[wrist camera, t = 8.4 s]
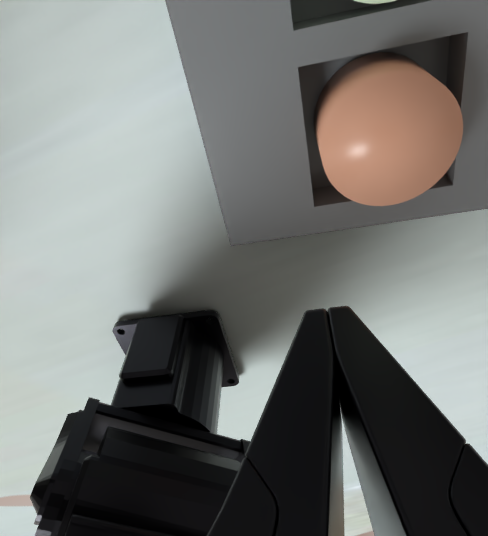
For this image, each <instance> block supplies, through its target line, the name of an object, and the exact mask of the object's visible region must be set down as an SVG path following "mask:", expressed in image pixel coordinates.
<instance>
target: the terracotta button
mask: <svg viewBox="0 0 488 536" xmlns="http://www.w3.org/2000/svg"><path fill="white" fill-rule="evenodd" d="M314 131H315V136H316V140H317V144H318V148H319V152H320V156H321V160H322V164H323V167H324V170H325V173H326V175H327V177H328V179H329V181H330V182H331V184H332V185H333V186H334V187H335V188H336V190H337V191H338V192H340V193H341V194H342V195H343V196H345V197H347V198H348V199H350V200H352V201H355V202H357V203H360V204H364V205H370V206H388V205H394V204H399V203H402V202H405V201H408V200H410V199H413V198H415V197H417V196H419V195H420V194H422V193H424V192H425V191H427V190H428V189H429V188H431V187H432V186H433V185H434V184H436V183H437V182H438V181H439V180H440V179H441V178H442V177H443V176H444V174H445V173H446V172H447V170H448V169H449V168H450V166H451V165H452V163H453V161H454V160H455V158H456V155H457V153H458V151H459V148H460V145H461V141H462V135H463V118H462V113H461V109H460V106H459V104H458V102H457V100H456V98H455V97H454V95H453V94H452V93H451V91H450V90H449V89H448V88H447V87H446V86H445V85H443V84H442V83H441V82H440V81H438V80H437V79H436V78H435V77H433V76H432V75H431V74H430V73H428V72H427V71H426V70H425V69H423V68H422V67H421V66H419V65H418V64H417V63H416V62H414V61H413V60H411V59H409V58H407V57H405V56H403V55H400V54H396V53H389V52H379V53H371V54H368V55H364V56H361V57H359V58H357V59H354V60H353V61H351V62H349V63H347V64H346V65H345V66H343V67H342V68H340V69H339V70H338V71H337V72H336V73H335V74H334V75H333V76H332V77H331V78H330V80H329V81H328V82H327V83H326V85H325V87H324V88H323V90H322V92H321V94H320V96H319V98H318V101H317V104H316V107H315V112H314Z"/></svg>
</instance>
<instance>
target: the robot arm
mask: <svg viewBox="0 0 488 536" xmlns="http://www.w3.org/2000/svg"><path fill="white" fill-rule="evenodd" d="M208 318H212V319H213V320H210V319H208ZM121 329H123V330H121ZM113 333H114V335H115V337H116V339H117V341H118V342H119V344H120V346H121V348H122V350H123V351H124V353H125V355H126V357H125V360H124V363H123V365H122V368H121V371H120V374H119V377H120V379H119V382H118V385H117V388H116V391H115V394H114V397H113V400H112V403H111V405H108V404H105V403H101V402H99V401H100V400H97V399H93V398H90V397H89V399H88V401H87V404H86V406H85V409H84V411H82V410H79V412H75V413H71V414H68V416H67V418H66V420H65V423H64V425H63V427H62V430H61V432H60V434H59V437H58V439H57V441H56V444H55V446H54V448H53V450H52V452H51V454H50V456H49V458H48V460H47V462H46V464H45V466H44V468H43V470H42V472H41V474H40V475H39V477H38V479H37V481H36V483H35V486H34V488H33V491H32V493H31V496H30V499H31V501H32V503H33V506H34V508H35V510H36V513H37V516H36V519H35V523H34V524H35V525H39V526H38V528H37V531H36V534H35V536H344V494H343V448H342V419H343V423H344V427H345V431H346V435H347V438H348V442H349V445H350V449H351V453H352V456H353V460H354V463H355V467H356V471H357V474H358V478H359V481H360V485H361V488H362V492H363V496H364V499H365V503H366V506H367V510H368V514H369V517H370V521H371V524H372V528H373V532H374V535H375V536H488V464H487V463H486V462H485V461H484V460H483V459H482V458H481V456H480V455H479V454H478V453H477V452H476V451H475V450H474V448H473V447H472V446H471V445H470V444H465V443H466V440H465V438H464V437H463V436H462V435H461V434H460V433H459V432H458V430H457V429H456V428H455V427H454V426H453V425H452V424H451V422H450V421H449V420H448V419H447V418H446V417H445V416H444V414H443V413H442V412H441V411H440V410H439V409H438V408H437V406H436V405H435V404H434V403H433V402H432V401H431V400H430V398H429V397H428V396H427V395H426V394H425V393H424V392H423V390H422V389H421V388H420V387H419V386H418V385H417V384H416V382H415V381H414V380H413V379H412V378H411V377H410V376H409V374H408V373H407V372H406V371H405V370H404V369H403V368H402V366H401V365H400V364H399V363H398V362H397V361H396V360H395V358H394V357H393V356H392V355H391V354H390V353H389V352H388V350H387V349H386V348H385V347H384V346H383V345H382V344H381V342H380V341H379V340H378V339H377V338H376V337H375V336H374V334H373V333H372V332H371V331H370V330H369V329H368V328H367V326H366V325H365V324H364V323H363V322H362V321H361V320H360V318H359V317H358V316H357V315H356V314H355V313H354V312H353V310H352V309H351V308H350V307H348V306H341V307H332V308H329V309H328V311H326V309H315V310H308V311H306V312H305V313H304V315H303V318H302V320H301V322H300V325H299V327H298V330H297V332H296V334H295V337H294V339H293V341H292V344H291V346H290V349H289V351H288V353H287V356H286V358H285V361H284V363H283V365H282V368H281V370H280V373H279V375H278V377H277V380H276V382H275V384H274V387H273V389H272V392H271V394H270V396H269V399H268V401H267V404H266V406H265V408H264V411H263V413H262V415H261V418H260V420H259V423H258V425H257V427H256V430H255V432H254V435H253V437H252V439H251V442H250V441H247V440H243V439H241V440H236V439H233V438H229V437H225V436H222V435H218V434H217V426H218V417H219V407H220V397H221V387H228V386H235V385H237V384H238V383H239V374H238V371H237V368H236V365H235V362H234V359H233V356H232V353H231V350H230V347H229V344H228V340H227V337H226V334H225V331H224V328H223V325H222V322H221V319H220V316H219V314H218V313H217V312H216V311H212V310H208V311H200V312H192V313H183V314H175V315H167V316H159V317H151V318H143V319H135V320H126V321H119V322H117V323H116V324H115V326H114V328H113ZM340 408H341V410H340ZM341 413H342V419H341Z"/></svg>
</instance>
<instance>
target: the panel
mask: <svg viewBox="0 0 488 536" xmlns="http://www.w3.org/2000/svg"><path fill="white" fill-rule="evenodd" d="M165 1H166V5H167V9H168V12H169V16H170V20H171V24H172V27H173V31H174V35H175V39H176V42H177V46H178V50H179V53H180V57H181V61H182V65H183V68H184V72H185V76H186V80H187V83H188V87H189V91H190V95H191V98H192V102H193V106H194V110H195V113H196V117H197V121H198V125H199V128H200V132H201V136H202V139H203V143H204V147H205V151H206V154H207V158H208V162H209V166H210V169H211V173H212V177H213V181H214V184H215V188H216V192H217V196H218V199H219V203H220V207H221V211H222V214H223V218H224V222H225V226H226V229H227V233H228V237H229V240H230V244H231V246H234V245H241V244H247V243H254V242H261V241H268V240H275V239H282V238H289V237H295V236H302V235H309V234H316V233H323V232H330V231H337V230H344V229H350V228H357V227H364V226H371V225H378V224H385V223H392V222H398V221H405V220H412V219H419V218H426V217H433V216H440V215H447V214H453V213H460V212H467V211H474V210H481V209H488V0H396V1H392V2H387V3H380V4H369V3H362V2H357V1H354V0H165ZM379 52H389V53H396V54H400V55H403V56H405V57H407V58H409V59H411V60H413V61H414V62H416V63H417V64H418V65H419V66H421V67H422V68H423V69H425V70H426V71H427V72H428V73H430V74H431V75H432V76H433V77H435V78H436V79H437V80H438V81H440V82H441V83H442V84H443V85H445V86H446V87H447V88H448V89H449V90H450V91H451V93H452V94H453V95H454V97H455V98H456V100H457V102H458V104H459V106H460V109H461V113H462V118H463V135H462V141H461V145H460V148H459V151H458V153H457V155H456V158H455V160H454V161H453V163H452V165H451V166H450V168H449V169H448V170H447V172H446V173H445V174H444V176H443V177H442V178H441V179H440V180H439V181H438V182H437V183H436V184H434V185H433V186H432V187H431V188H429V189H428V190H427V191H425V192H424V193H422V194H420V195H419V196H417V197H415V198H413V199H410V200H408V201H405V202H402V203H399V204H394V205H388V206H370V205H364V204H360V203H357V202H355V201H352V200H350V199H348V198H347V197H345V196H343V195H342V194H341V193H340V192H338V191H337V190H336V188H335V187H334V186H333V185H332V184H331V182H330V181H329V179H328V177H327V175H326V173H325V170H324V167H323V164H322V160H321V156H320V152H319V148H318V144H317V140H316V136H315V131H314V112H315V107H316V104H317V101H318V98H319V96H320V94H321V92H322V90H323V88H324V87H325V85H326V83H327V82H328V81H329V80H330V78H331V77H332V76H333V75H334V74H335V73H336V72H337V71H338V70H339V69H340V68H342V67H343V66H345V65H346V64H347V63H349V62H351V61H353V60H354V59H357V58H359V57H361V56H364V55H368V54H371V53H379Z"/></svg>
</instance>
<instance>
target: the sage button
mask: <svg viewBox="0 0 488 536" xmlns="http://www.w3.org/2000/svg"><path fill="white" fill-rule="evenodd" d="M354 1H357V2H362V3H369V4H380V3H387V2H392V1H396V0H354Z"/></svg>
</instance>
